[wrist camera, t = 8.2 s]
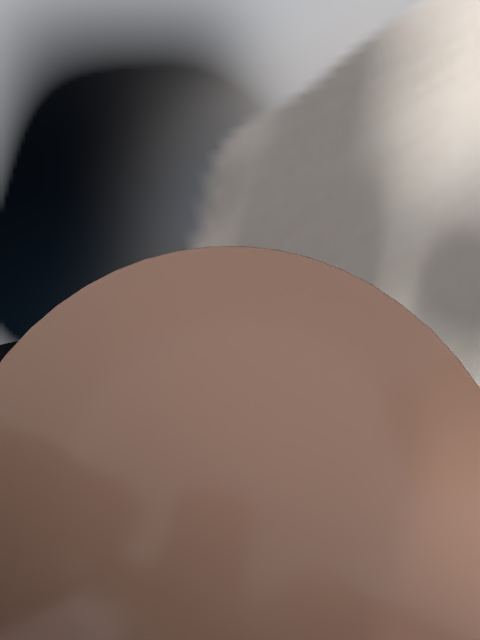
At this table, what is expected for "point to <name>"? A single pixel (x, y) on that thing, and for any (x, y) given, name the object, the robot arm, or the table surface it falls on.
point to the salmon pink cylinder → (237, 460)
